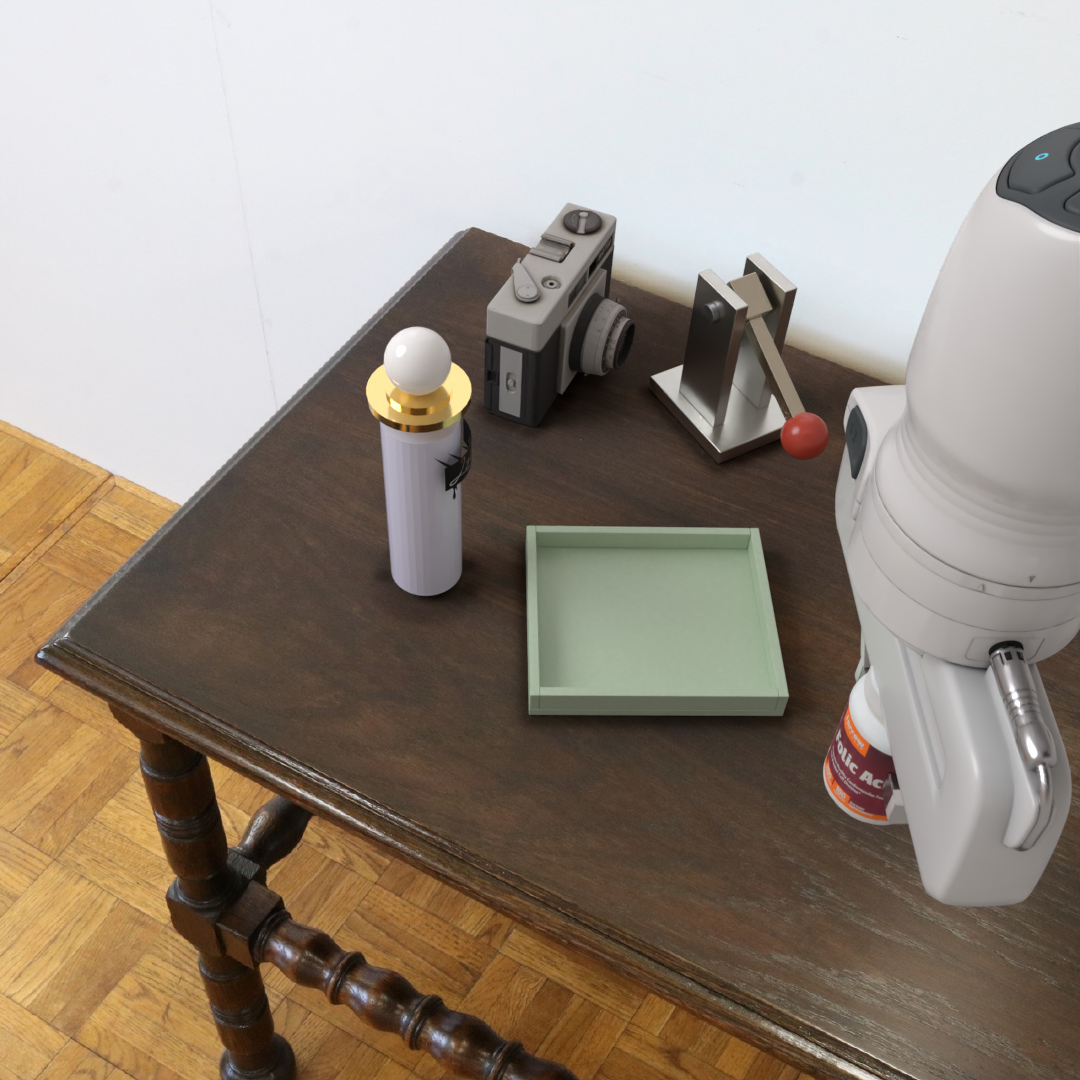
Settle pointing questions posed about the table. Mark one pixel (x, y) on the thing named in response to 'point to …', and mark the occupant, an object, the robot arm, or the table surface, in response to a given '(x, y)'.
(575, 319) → the camera
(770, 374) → the lever
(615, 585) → the tray
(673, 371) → the bracket
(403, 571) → the perfume bottle
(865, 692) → the pill bottle
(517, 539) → the table surface
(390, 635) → the table surface
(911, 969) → the table surface
